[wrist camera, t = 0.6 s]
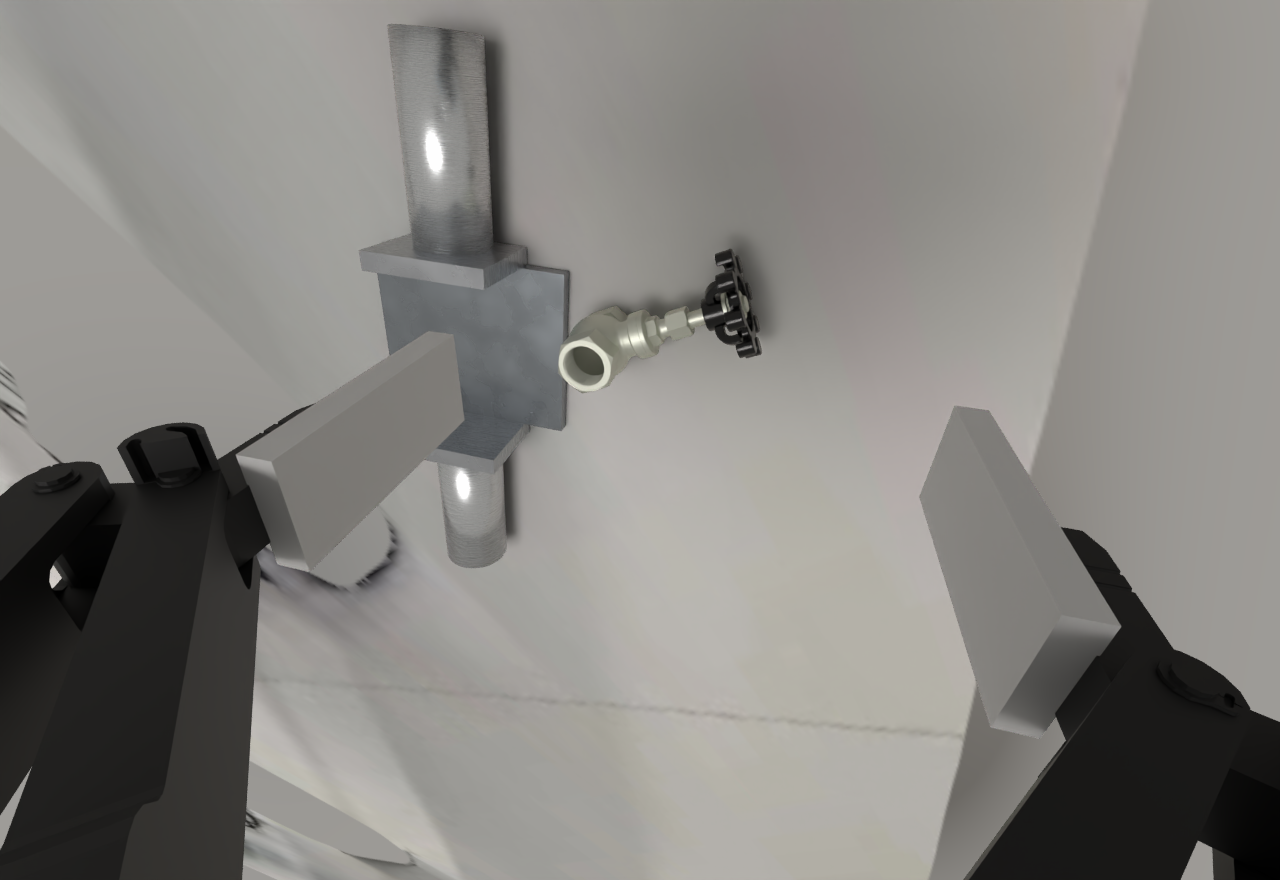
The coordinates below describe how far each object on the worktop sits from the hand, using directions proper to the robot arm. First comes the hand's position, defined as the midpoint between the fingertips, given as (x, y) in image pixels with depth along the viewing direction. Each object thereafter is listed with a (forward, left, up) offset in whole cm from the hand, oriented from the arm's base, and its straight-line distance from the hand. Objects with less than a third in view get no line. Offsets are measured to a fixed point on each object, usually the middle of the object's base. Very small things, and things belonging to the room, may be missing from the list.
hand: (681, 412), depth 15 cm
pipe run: (+9, -18, -24) cm, 31 cm away
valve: (+5, -4, -24) cm, 25 cm away
